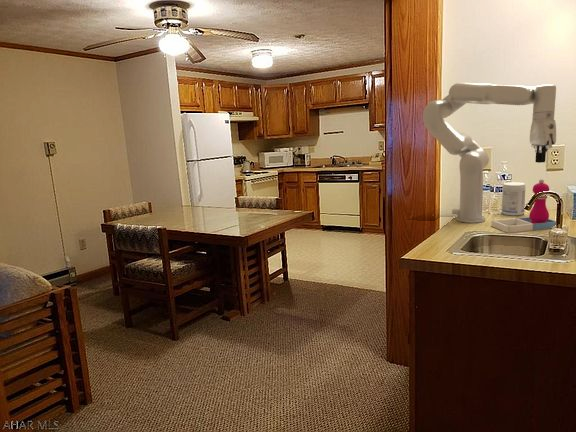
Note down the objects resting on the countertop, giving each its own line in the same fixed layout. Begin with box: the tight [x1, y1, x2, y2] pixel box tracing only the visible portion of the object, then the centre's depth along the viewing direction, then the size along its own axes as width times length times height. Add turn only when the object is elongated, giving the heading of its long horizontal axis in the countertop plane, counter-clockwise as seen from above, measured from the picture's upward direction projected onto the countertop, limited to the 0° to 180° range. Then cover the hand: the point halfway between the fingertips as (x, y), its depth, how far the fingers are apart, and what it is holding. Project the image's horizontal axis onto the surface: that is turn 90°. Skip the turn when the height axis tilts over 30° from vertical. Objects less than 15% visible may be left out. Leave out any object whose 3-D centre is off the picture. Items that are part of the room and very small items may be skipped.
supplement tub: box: [501, 181, 526, 217], centre depth 201 cm, size 10×10×15 cm
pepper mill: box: [528, 178, 550, 224], centre depth 177 cm, size 7×7×20 cm
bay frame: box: [490, 216, 557, 234], centre depth 179 cm, size 22×12×2 cm, turn 96°
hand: (540, 162), depth 174 cm, fingers closed
